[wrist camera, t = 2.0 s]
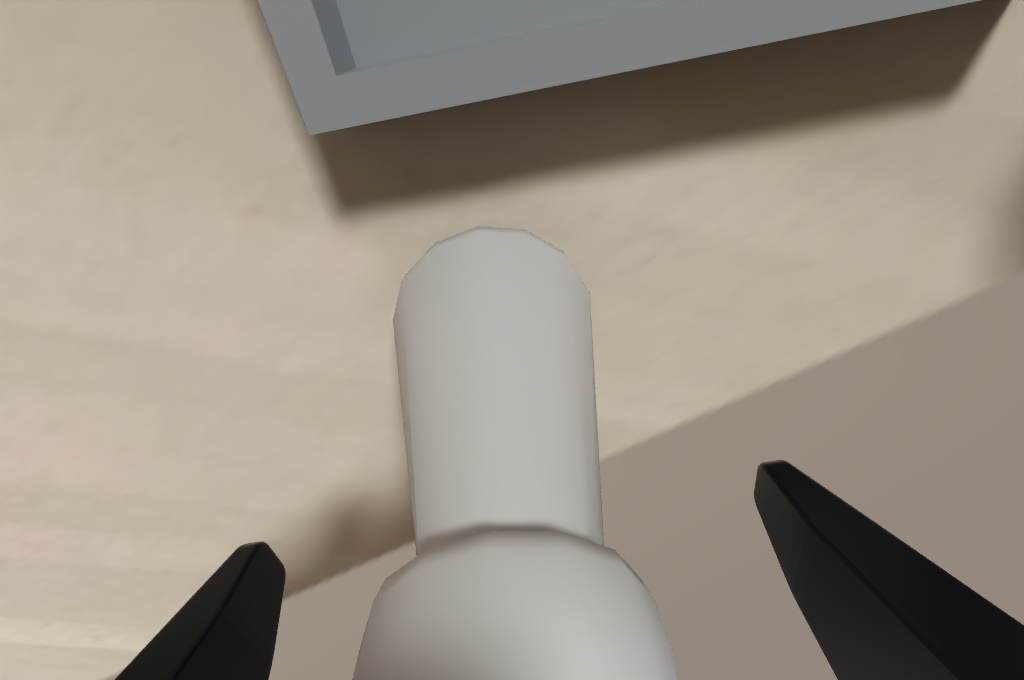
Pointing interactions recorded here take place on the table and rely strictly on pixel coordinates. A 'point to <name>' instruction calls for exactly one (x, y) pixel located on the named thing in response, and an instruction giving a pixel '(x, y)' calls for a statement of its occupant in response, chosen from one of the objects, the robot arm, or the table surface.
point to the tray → (516, 45)
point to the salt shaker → (505, 481)
